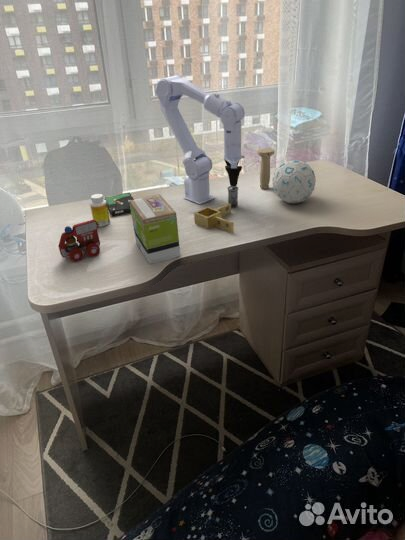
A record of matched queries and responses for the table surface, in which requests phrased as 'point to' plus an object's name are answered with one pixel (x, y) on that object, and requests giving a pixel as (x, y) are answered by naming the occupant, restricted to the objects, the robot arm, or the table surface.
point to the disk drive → (119, 204)
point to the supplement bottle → (99, 210)
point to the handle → (265, 166)
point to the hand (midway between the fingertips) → (232, 181)
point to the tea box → (155, 228)
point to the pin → (233, 196)
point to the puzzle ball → (294, 181)
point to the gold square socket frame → (214, 218)
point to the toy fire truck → (80, 241)
